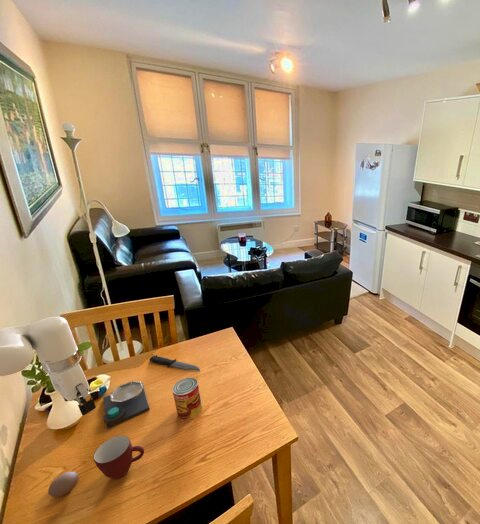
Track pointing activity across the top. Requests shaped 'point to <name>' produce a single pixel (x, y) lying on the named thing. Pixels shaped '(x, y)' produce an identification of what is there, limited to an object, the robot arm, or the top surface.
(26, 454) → the top surface
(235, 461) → the top surface
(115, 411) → the tare button
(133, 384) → the shallow metal dish
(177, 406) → the canned food
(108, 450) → the mug
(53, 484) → the egg
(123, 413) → the scale
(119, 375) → the top surface
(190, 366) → the knife
